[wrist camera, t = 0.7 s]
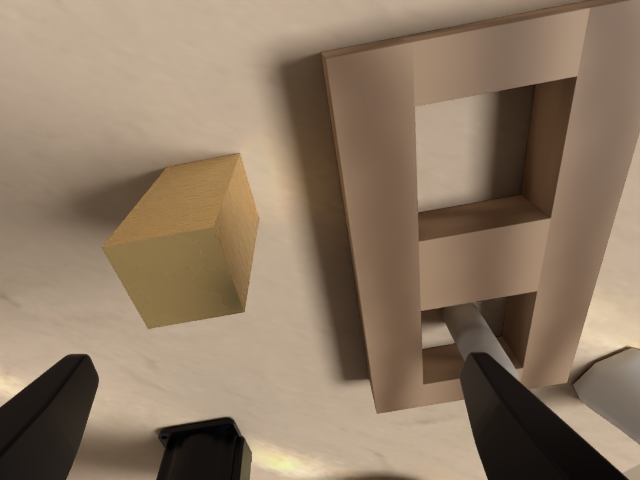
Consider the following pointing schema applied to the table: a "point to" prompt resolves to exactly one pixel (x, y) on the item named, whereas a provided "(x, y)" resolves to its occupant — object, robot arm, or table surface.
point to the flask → (614, 391)
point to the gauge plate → (493, 215)
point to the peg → (188, 243)
